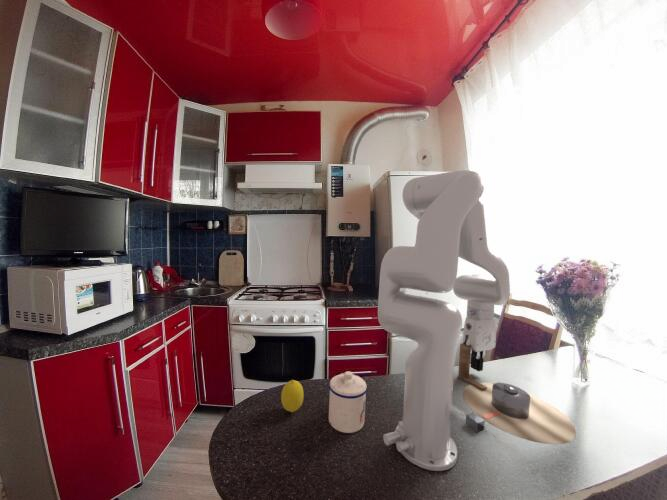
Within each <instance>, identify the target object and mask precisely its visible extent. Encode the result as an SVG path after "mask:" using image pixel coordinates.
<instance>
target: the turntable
mask: <svg viewBox="0 0 667 500" xmlns="http://www.w3.org/2000/svg"><path fill="white" fill-rule="evenodd" d="M470 353H471V346H468V345H466V344H463V342H462V343H460V344H459V357H458V358H459V359H458V374H457V375H458V376H457V377H458V379H460V380H462V381H464V382H466V383H468V385H466V386H465V387H464V389H463V391H462V397H463V400H464V402H465V403H466V405H467V406H468V407H469V409H470V410H471V411H472V412H473V413H475V414H476V415H478V416H479V417H480V418H482V419H483V420H485V421H486V422H487V423H488V424H491V425H492V426H493V427H495V428H498V429H499V430H502V431H503V432H505V433H508V434H510V435H513V436H515V437H519V438H521V439H524V440H527V441H530V442H531V441H532V442H536V443H541V444H547V445H563V444H567V443H570V442H571V441H573V440H574V439H575V437H576V434H577V432H576V428H575V426H574V424H573V423H572V421H571V420H570V419H569V417H568V416H566V415H565V414H564V413H563V412H562V411H561V410H560V409H558V408H557V407H555V406H554V405H552V404H551V403H549V402H547V401H546V400H544V399H542V398H540V397H538V396H536V395H534V394H532V393H529V392H527V393H528V394H529V396H530V409H529V417H528V418H526V419H516V418H512V417H509V416H507V415H504V414H502V413H501V412H499V411H498V410H496V409H495V408H494V407H493V405H492V403H491V402H492V387H493V384H495V383H494V382H485V381H483V382H481V381H480V382H479V381H477V380H475V379H473V378H472V377H470V368H471V366H470V365H471V356H470ZM485 421H484V422H485Z"/></svg>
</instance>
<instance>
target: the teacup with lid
mask: <svg viewBox="0 0 667 500" xmlns="http://www.w3.org/2000/svg"><path fill="white" fill-rule="evenodd" d="M328 387H329V399H328V400H329V403H328V404H329V405H328V422H329V424H330V426H331V428H333V429H335V431H338V432H340V433H346V434H353V433H356V432H358V431H360V430H361V429H362V428H363V427H364V424H365V420H366V419H365V418H366V416H365V415H366V400H367V399H366V398H367V397H366V394H367V391H368V385H367V383H366V381H365V380H364V379H363V378H362V377H360V376H359V375H356V374H353V372H352V371H350V370H349V371H345V372H344V373H340V374H338V375H334V376H333V377H332V378H331V379H330V381H329V384H328Z"/></svg>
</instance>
